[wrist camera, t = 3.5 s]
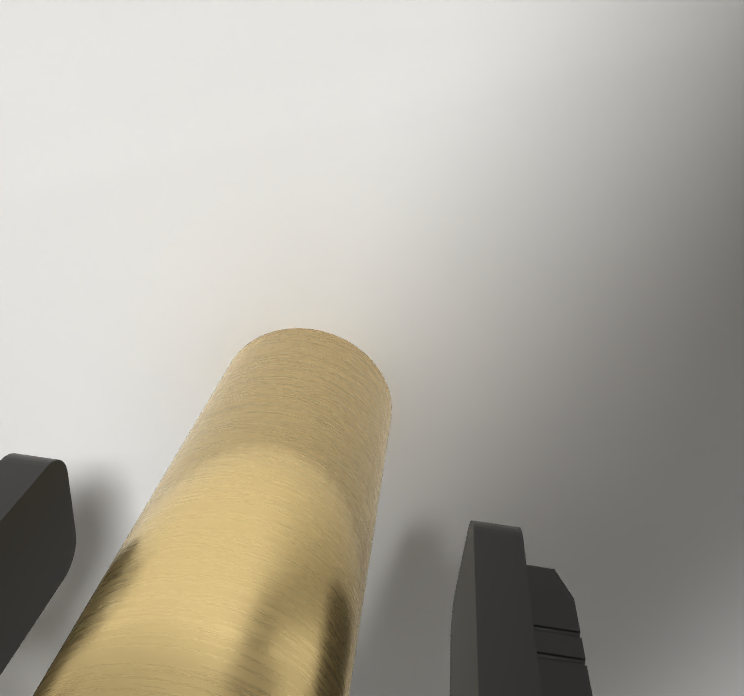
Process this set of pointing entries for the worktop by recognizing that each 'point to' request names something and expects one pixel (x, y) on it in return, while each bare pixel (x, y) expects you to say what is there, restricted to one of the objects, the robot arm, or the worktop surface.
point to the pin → (248, 539)
